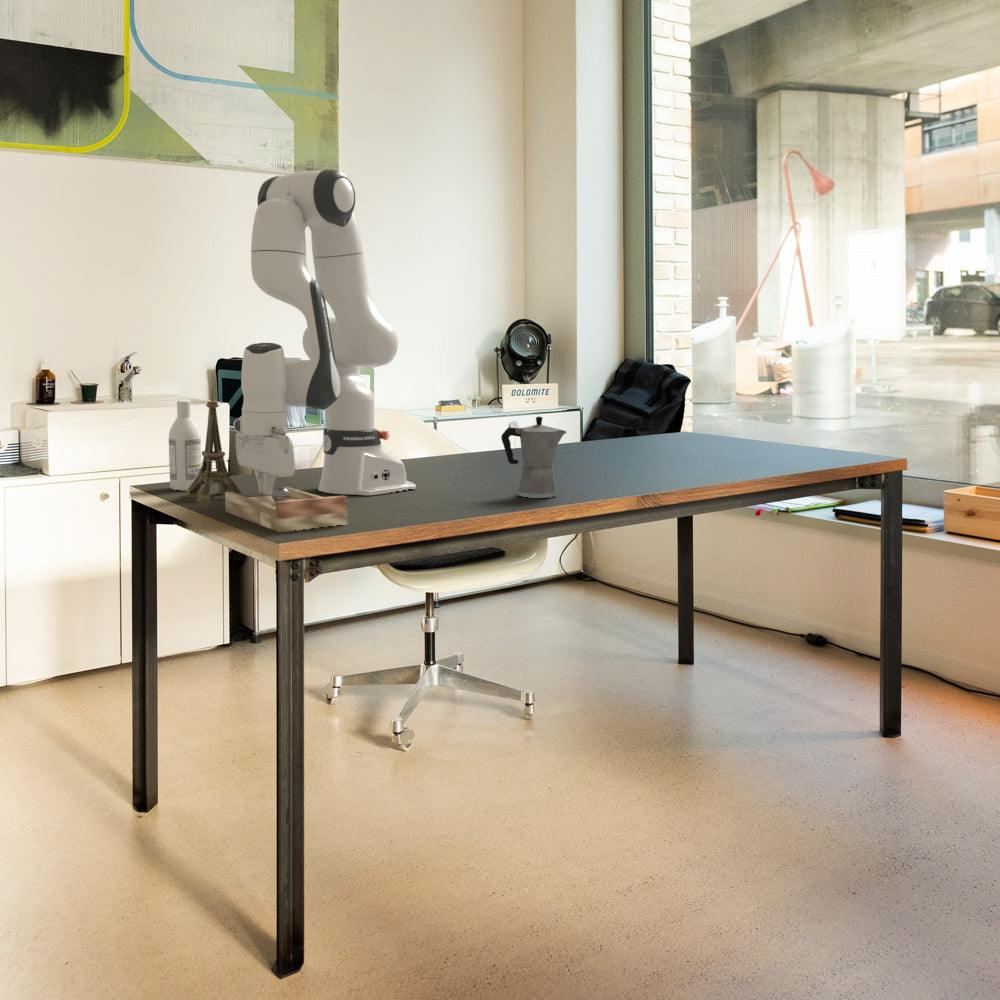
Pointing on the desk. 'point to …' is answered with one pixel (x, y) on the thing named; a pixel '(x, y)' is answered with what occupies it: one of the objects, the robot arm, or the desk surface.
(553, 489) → the coffeepot
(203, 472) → the eiffel tower
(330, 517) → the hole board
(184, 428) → the bath foam
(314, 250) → the robot arm
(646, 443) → the desk surface
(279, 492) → the steel ball
